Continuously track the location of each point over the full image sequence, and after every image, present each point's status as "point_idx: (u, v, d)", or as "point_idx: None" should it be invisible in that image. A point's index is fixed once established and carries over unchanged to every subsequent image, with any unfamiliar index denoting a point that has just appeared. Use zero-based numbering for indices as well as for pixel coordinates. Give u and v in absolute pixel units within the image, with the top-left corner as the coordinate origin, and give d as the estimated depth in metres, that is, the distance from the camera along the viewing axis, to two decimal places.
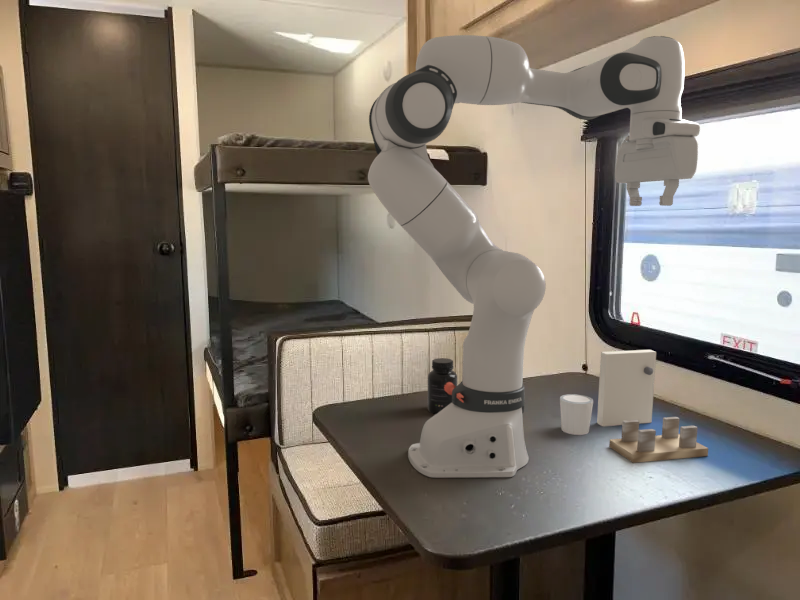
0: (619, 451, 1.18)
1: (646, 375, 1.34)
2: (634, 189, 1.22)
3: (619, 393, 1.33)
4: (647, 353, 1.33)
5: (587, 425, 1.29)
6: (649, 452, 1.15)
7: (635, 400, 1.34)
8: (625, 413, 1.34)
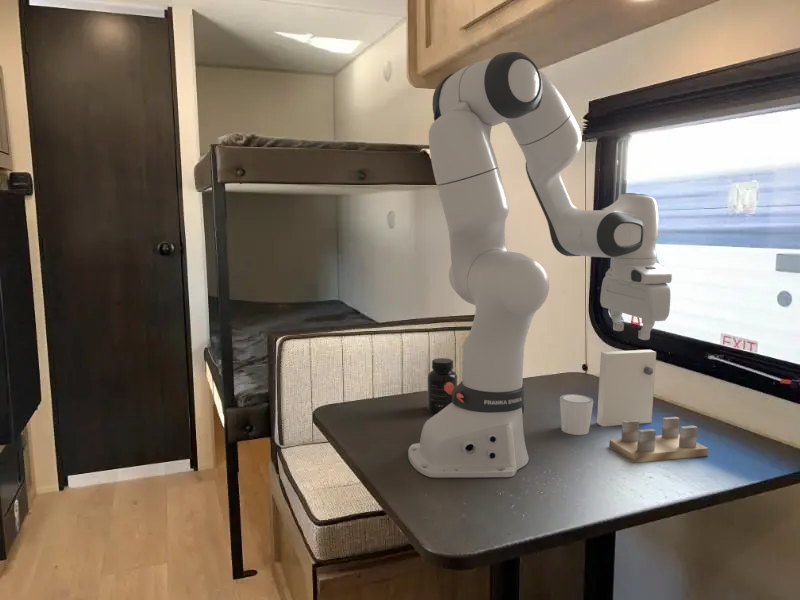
0: (619, 451, 1.18)
1: (646, 375, 1.34)
2: (617, 315, 1.38)
3: (619, 393, 1.33)
4: (647, 353, 1.33)
5: (587, 425, 1.29)
6: (649, 452, 1.15)
7: (635, 400, 1.34)
8: (625, 413, 1.34)
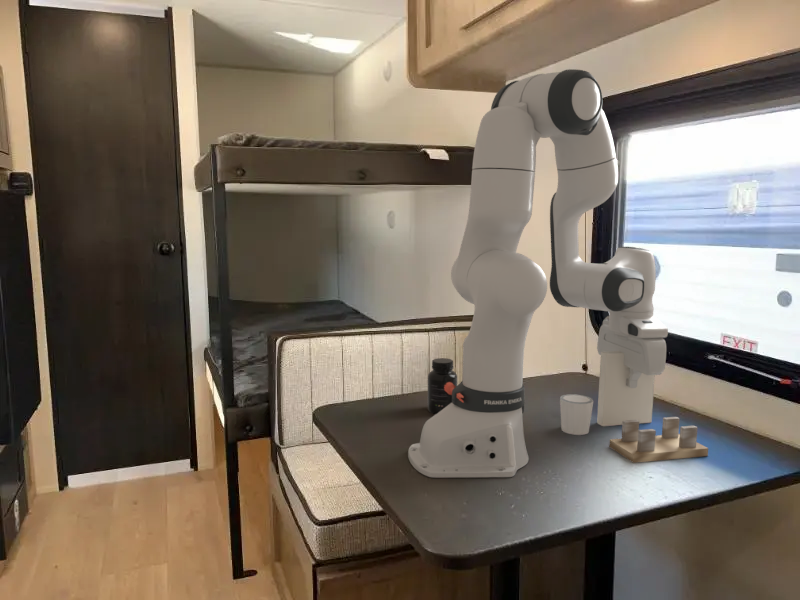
0: (619, 451, 1.18)
1: (646, 375, 1.34)
2: None
3: (619, 393, 1.33)
4: None
5: (587, 425, 1.29)
6: (649, 452, 1.15)
7: (635, 400, 1.34)
8: (625, 413, 1.34)
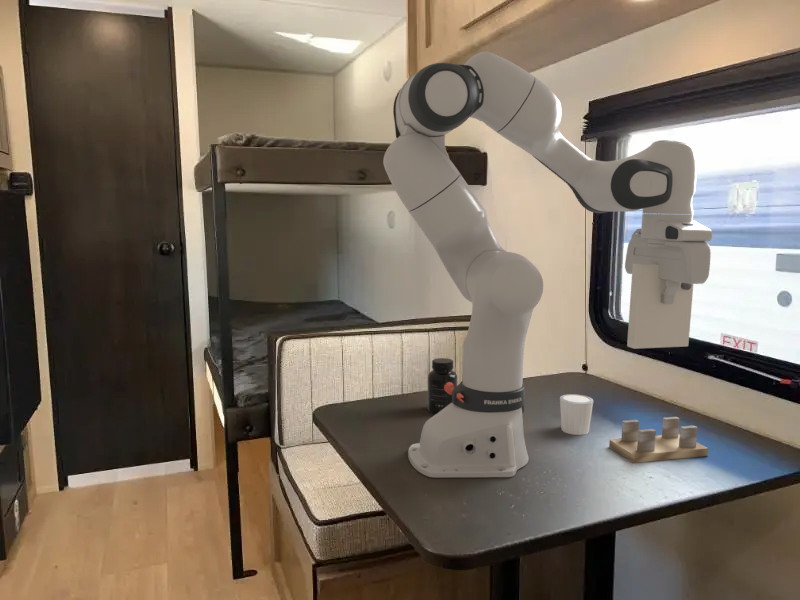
0: (619, 451, 1.18)
1: (683, 291, 1.18)
2: None
3: (654, 311, 1.17)
4: None
5: (587, 425, 1.29)
6: (649, 452, 1.15)
7: (670, 320, 1.18)
8: (660, 334, 1.18)
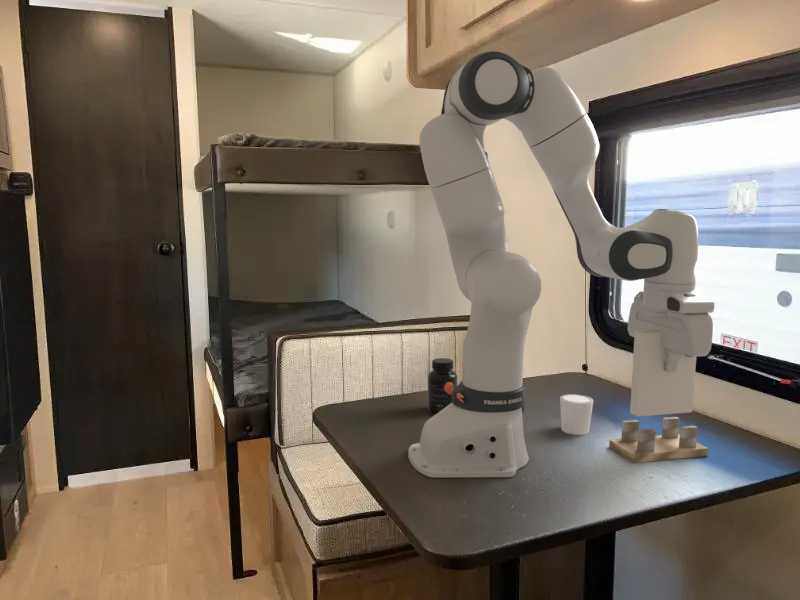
0: (619, 451, 1.18)
1: (687, 357, 1.17)
2: None
3: (656, 378, 1.16)
4: None
5: (587, 425, 1.29)
6: (649, 452, 1.15)
7: (673, 387, 1.17)
8: (663, 402, 1.17)
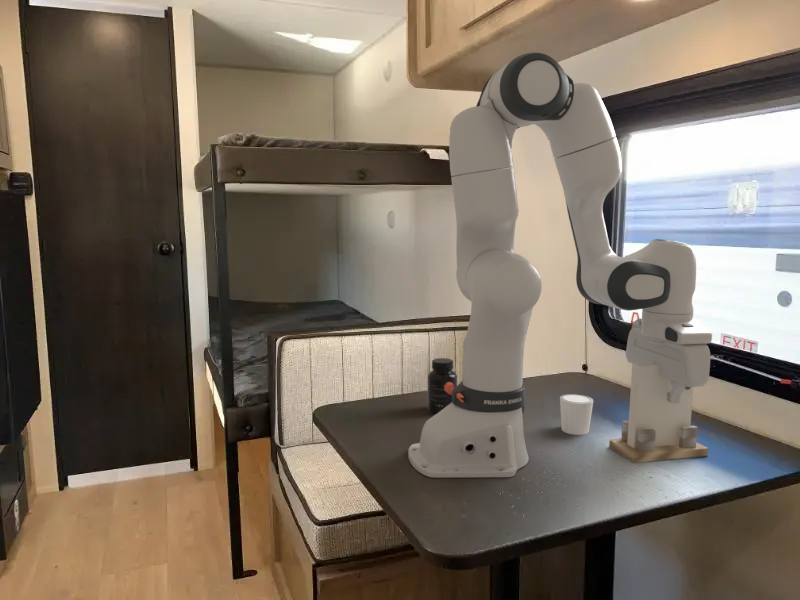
0: (619, 451, 1.18)
1: (684, 390, 1.18)
2: None
3: (653, 411, 1.17)
4: None
5: (587, 425, 1.29)
6: (649, 452, 1.15)
7: (670, 419, 1.18)
8: (660, 433, 1.18)
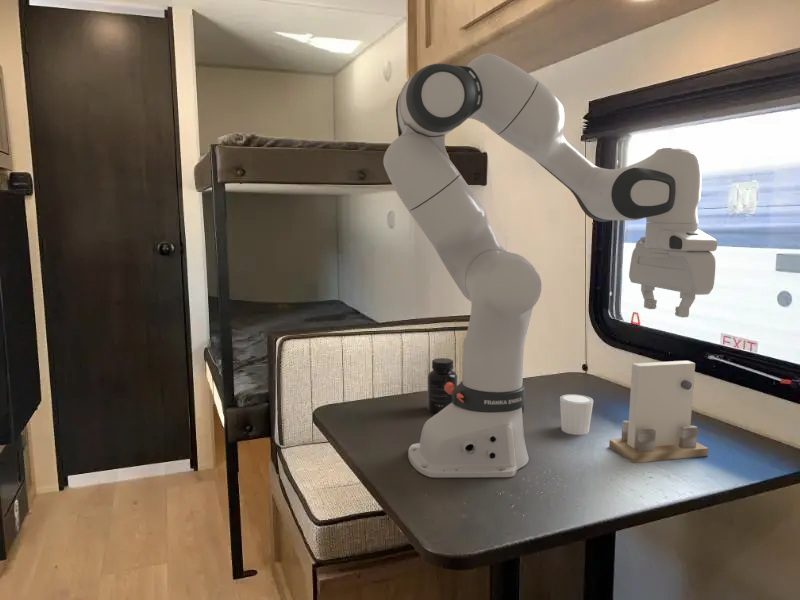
0: (619, 451, 1.18)
1: (684, 390, 1.18)
2: (648, 291, 1.21)
3: (653, 411, 1.17)
4: (685, 365, 1.17)
5: (587, 425, 1.29)
6: (649, 452, 1.15)
7: (670, 419, 1.18)
8: (660, 433, 1.18)
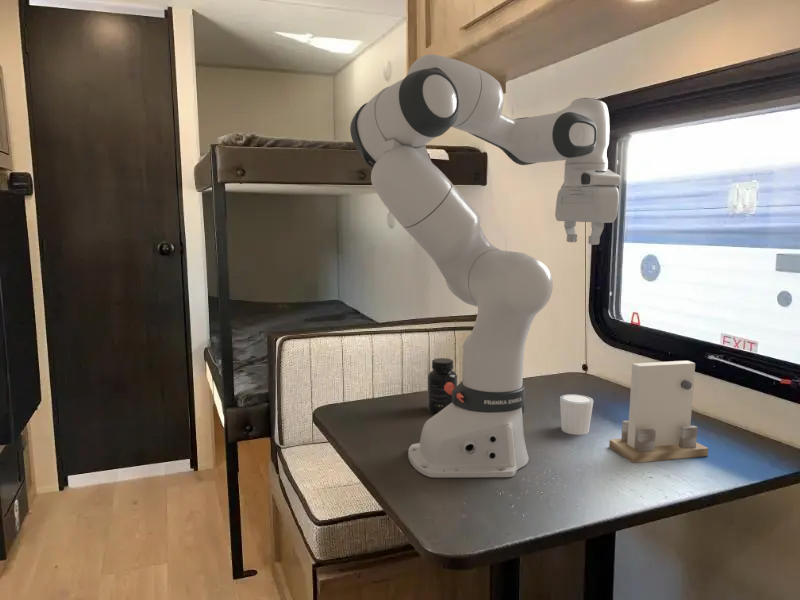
0: (619, 451, 1.18)
1: (684, 390, 1.18)
2: (570, 227, 1.39)
3: (653, 411, 1.17)
4: (685, 365, 1.17)
5: (587, 425, 1.29)
6: (649, 452, 1.15)
7: (670, 419, 1.18)
8: (660, 433, 1.18)
